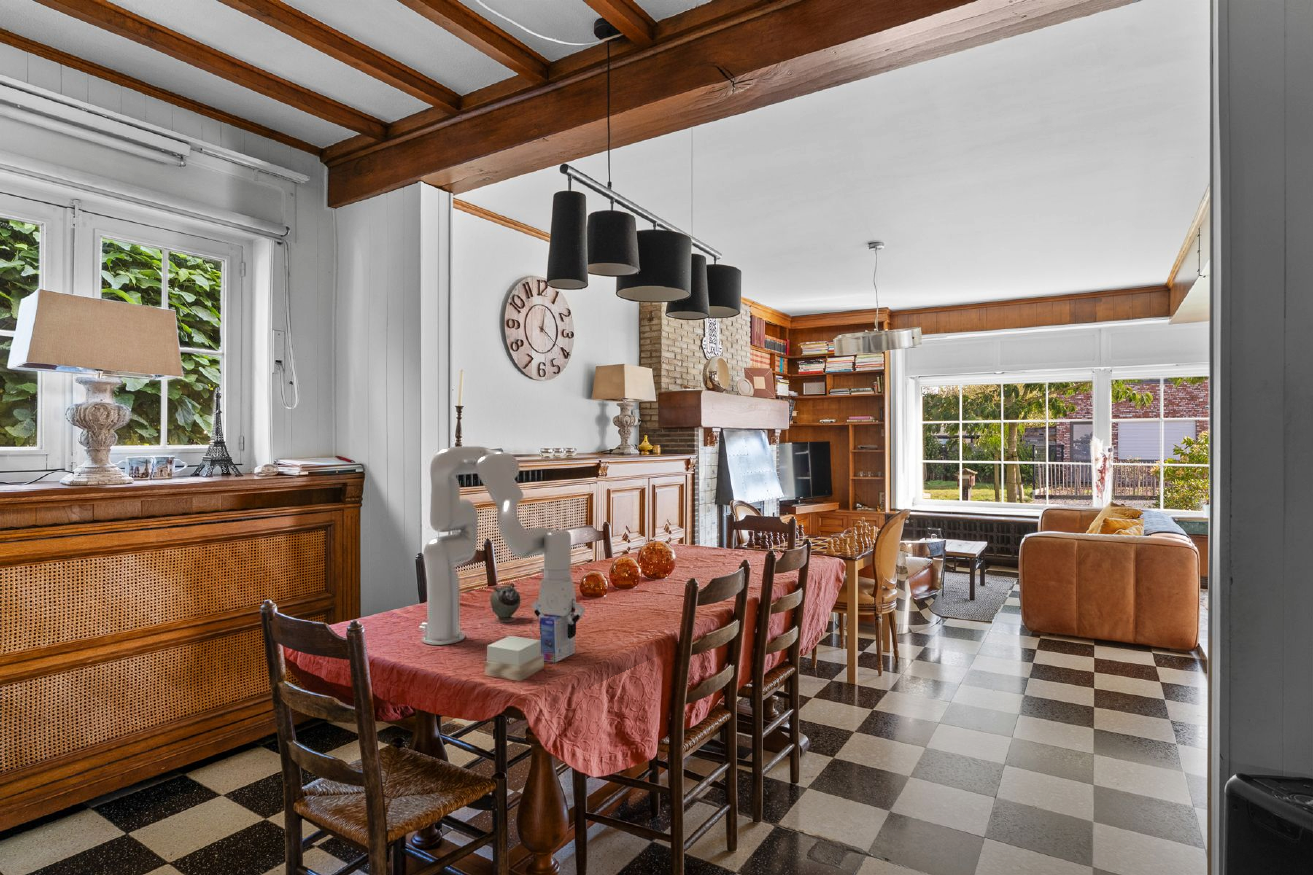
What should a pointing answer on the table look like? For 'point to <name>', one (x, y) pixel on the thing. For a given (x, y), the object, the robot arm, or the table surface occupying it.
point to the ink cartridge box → (555, 638)
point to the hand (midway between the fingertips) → (557, 635)
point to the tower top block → (513, 650)
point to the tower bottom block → (514, 669)
